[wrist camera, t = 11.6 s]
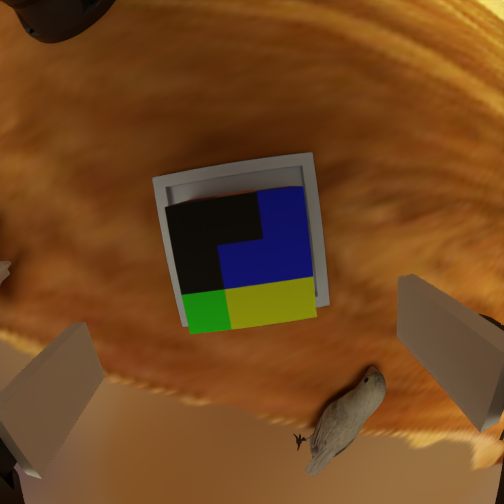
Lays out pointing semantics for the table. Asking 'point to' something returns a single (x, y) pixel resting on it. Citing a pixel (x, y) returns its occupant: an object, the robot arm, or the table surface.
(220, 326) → the puzzle toy
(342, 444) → the decorative bird
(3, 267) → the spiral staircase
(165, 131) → the table surface
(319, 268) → the tray
